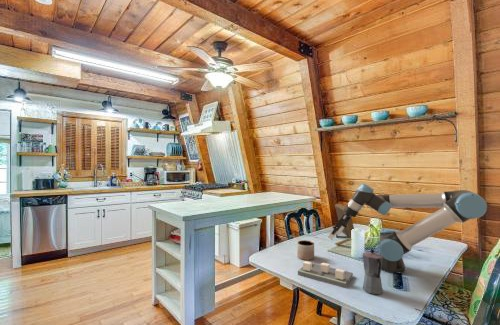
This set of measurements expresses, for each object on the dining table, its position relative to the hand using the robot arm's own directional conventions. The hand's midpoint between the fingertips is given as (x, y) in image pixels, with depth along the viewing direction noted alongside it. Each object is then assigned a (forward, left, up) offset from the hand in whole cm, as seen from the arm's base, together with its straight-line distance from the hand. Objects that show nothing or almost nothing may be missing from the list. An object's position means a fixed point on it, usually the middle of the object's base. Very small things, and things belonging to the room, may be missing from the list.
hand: (333, 236), depth 158 cm
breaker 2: (-9, +19, -16) cm, 27 cm away
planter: (+19, -3, -18) cm, 26 cm away
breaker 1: (+9, +19, -16) cm, 26 cm away
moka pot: (-25, +19, -18) cm, 36 cm away
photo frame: (+12, -66, -18) cm, 70 cm away
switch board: (0, +16, -18) cm, 24 cm away
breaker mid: (0, +16, -16) cm, 22 cm away
